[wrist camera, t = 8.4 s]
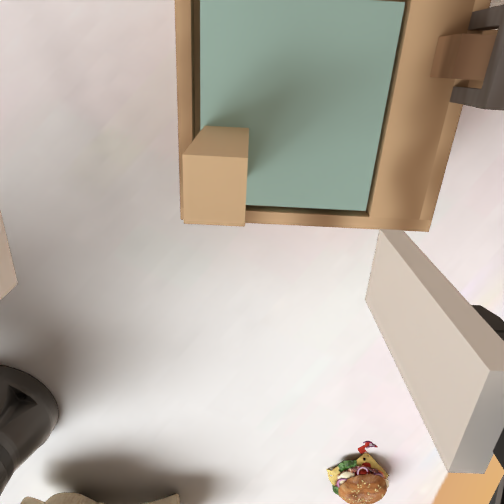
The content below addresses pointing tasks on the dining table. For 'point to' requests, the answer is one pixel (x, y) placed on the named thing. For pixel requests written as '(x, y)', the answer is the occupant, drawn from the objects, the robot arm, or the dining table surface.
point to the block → (462, 56)
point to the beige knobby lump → (88, 499)
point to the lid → (288, 105)
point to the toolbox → (394, 121)
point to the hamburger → (359, 479)
